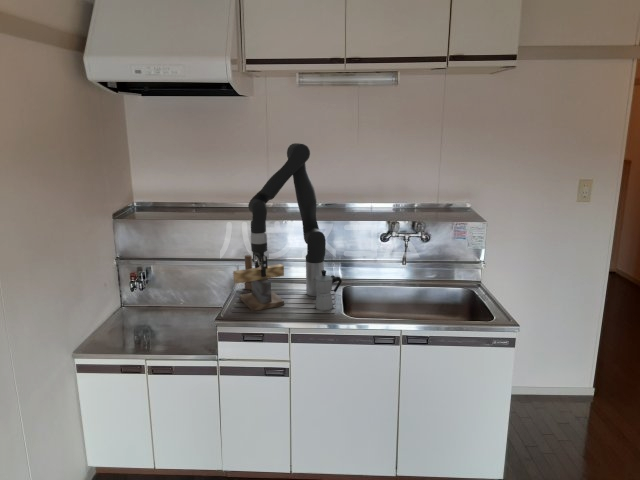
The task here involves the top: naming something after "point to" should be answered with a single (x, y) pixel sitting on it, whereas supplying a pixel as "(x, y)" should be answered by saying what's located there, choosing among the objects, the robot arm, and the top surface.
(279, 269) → the oak bar
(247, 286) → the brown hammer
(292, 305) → the top surface
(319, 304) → the coffee maker
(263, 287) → the ridge stand
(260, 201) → the robot arm
